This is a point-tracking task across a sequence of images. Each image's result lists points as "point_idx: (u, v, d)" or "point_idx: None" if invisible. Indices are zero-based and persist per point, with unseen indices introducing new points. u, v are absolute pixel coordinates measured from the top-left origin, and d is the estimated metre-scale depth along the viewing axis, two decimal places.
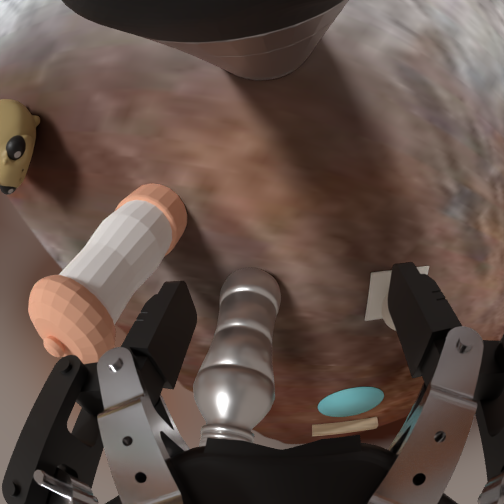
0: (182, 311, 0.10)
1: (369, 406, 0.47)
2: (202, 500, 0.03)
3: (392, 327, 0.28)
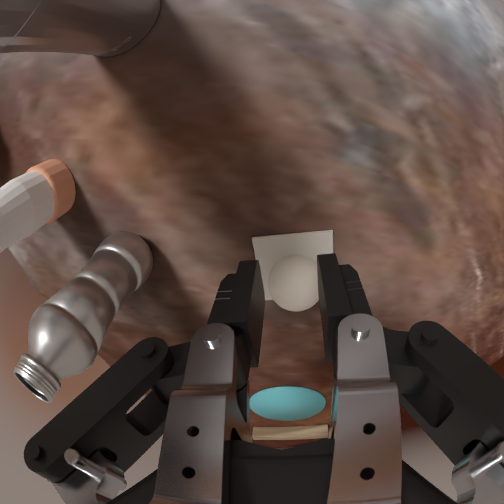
0: (259, 289, 0.10)
1: (311, 411, 0.44)
2: None
3: (279, 304, 0.25)
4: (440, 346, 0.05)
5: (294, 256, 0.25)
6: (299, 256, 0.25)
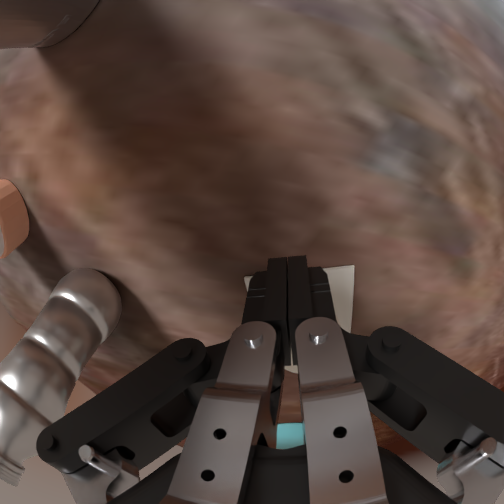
0: None
1: None
2: None
3: None
4: (404, 352, 0.05)
5: None
6: None
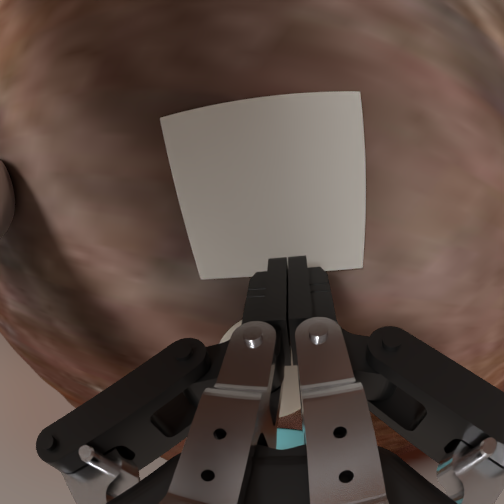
0: None
1: None
2: None
3: None
4: (404, 352, 0.05)
5: None
6: None
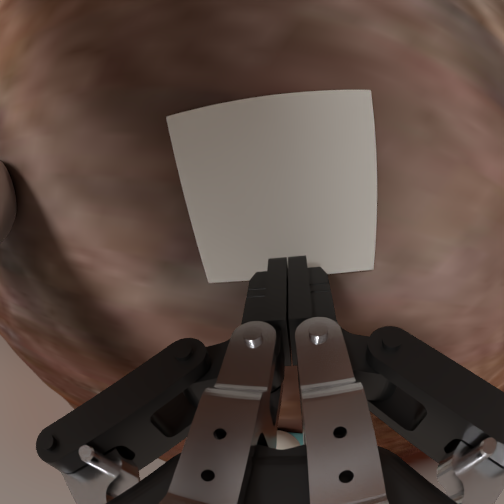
0: None
1: None
2: None
3: None
4: (404, 352, 0.05)
5: None
6: None
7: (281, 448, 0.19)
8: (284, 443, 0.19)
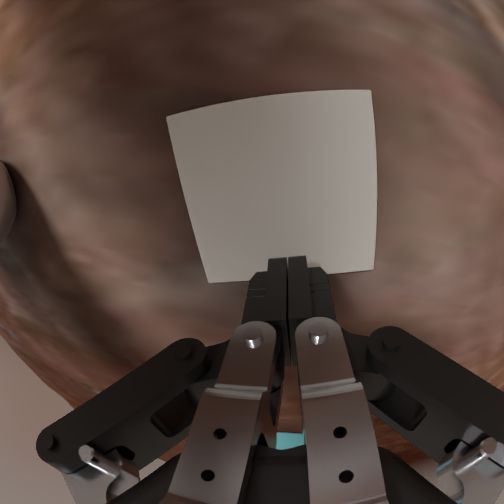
0: None
1: None
2: None
3: None
4: (404, 352, 0.05)
5: None
6: None
7: None
8: None
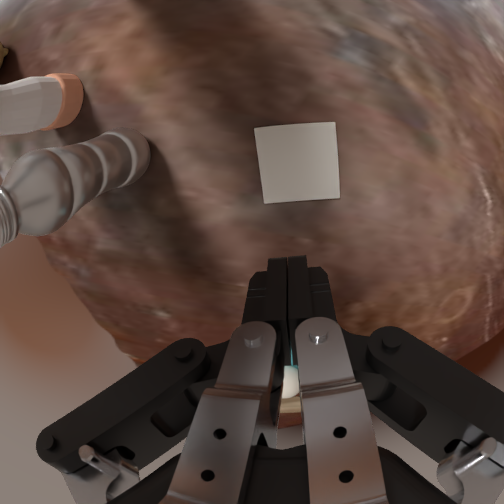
0: None
1: None
2: None
3: None
4: (404, 352, 0.05)
5: None
6: None
7: None
8: None
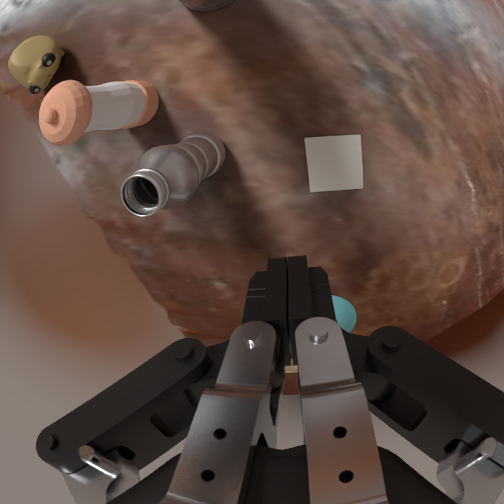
0: None
1: None
2: None
3: None
4: (404, 352, 0.05)
5: None
6: None
7: None
8: None
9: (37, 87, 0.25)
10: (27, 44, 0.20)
